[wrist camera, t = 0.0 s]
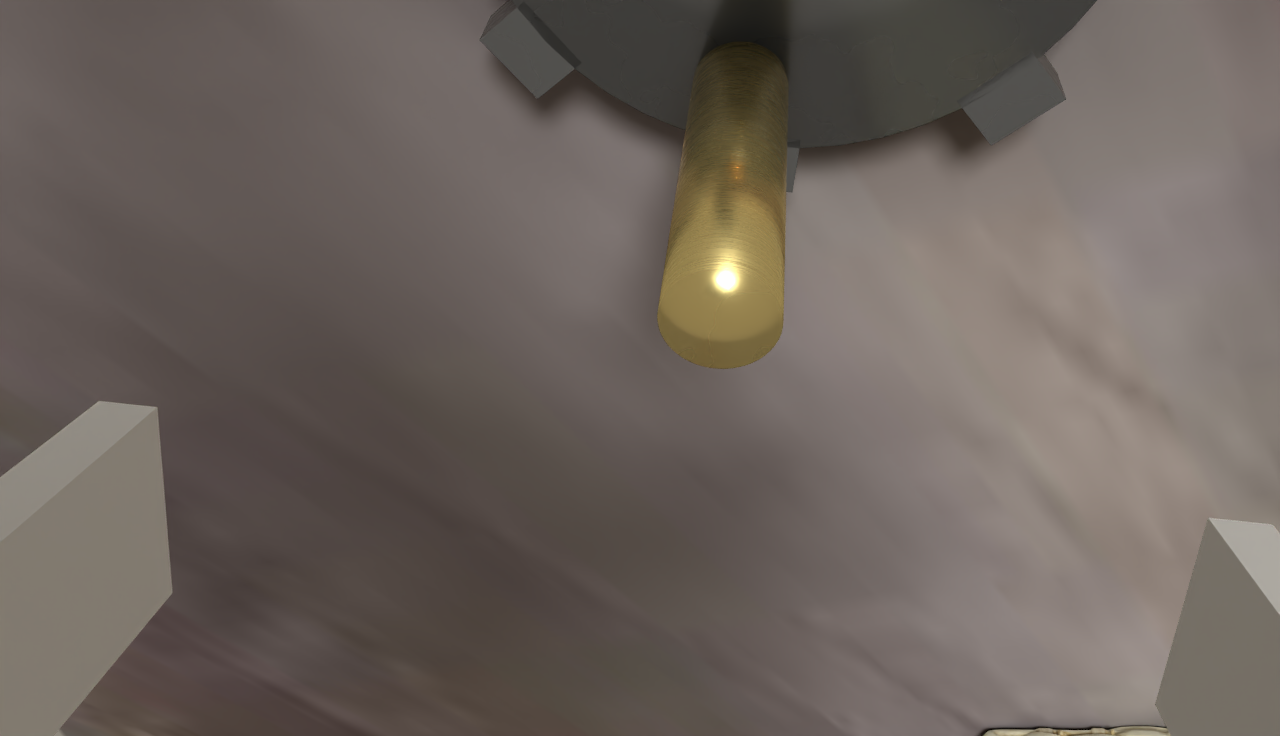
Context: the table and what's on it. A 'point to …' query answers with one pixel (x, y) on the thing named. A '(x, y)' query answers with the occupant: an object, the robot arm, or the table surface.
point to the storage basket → (1084, 732)
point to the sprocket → (778, 113)
